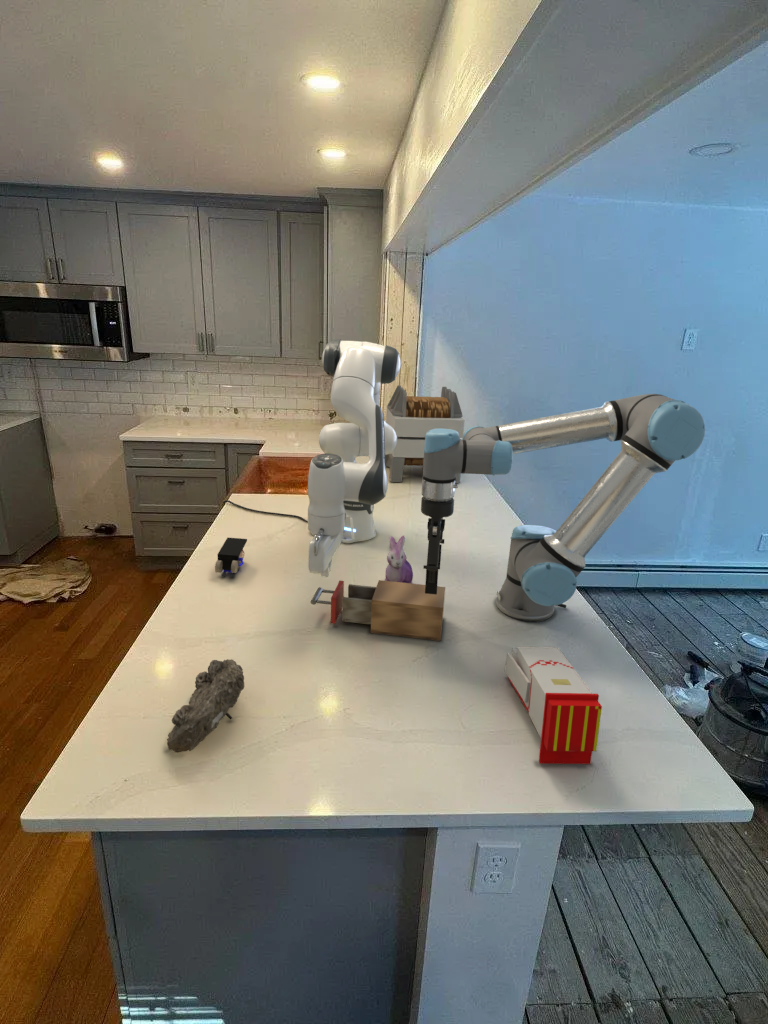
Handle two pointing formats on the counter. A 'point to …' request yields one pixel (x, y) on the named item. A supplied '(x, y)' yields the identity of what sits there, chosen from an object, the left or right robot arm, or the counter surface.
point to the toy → (556, 704)
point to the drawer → (349, 603)
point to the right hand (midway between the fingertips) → (432, 580)
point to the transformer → (419, 426)
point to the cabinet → (407, 610)
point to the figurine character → (230, 556)
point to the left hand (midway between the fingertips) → (325, 574)
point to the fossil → (206, 705)
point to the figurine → (398, 563)
